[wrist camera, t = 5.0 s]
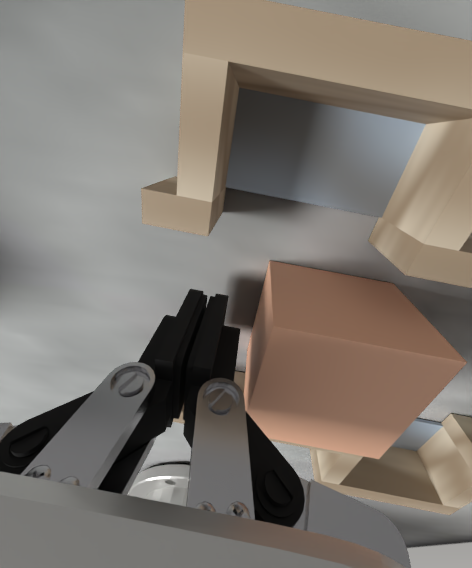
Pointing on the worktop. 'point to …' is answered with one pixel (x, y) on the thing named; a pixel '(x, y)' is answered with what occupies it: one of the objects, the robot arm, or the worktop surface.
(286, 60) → the trap lane
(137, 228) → the worktop surface
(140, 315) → the worktop surface
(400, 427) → the terracotta block
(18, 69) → the worktop surface
